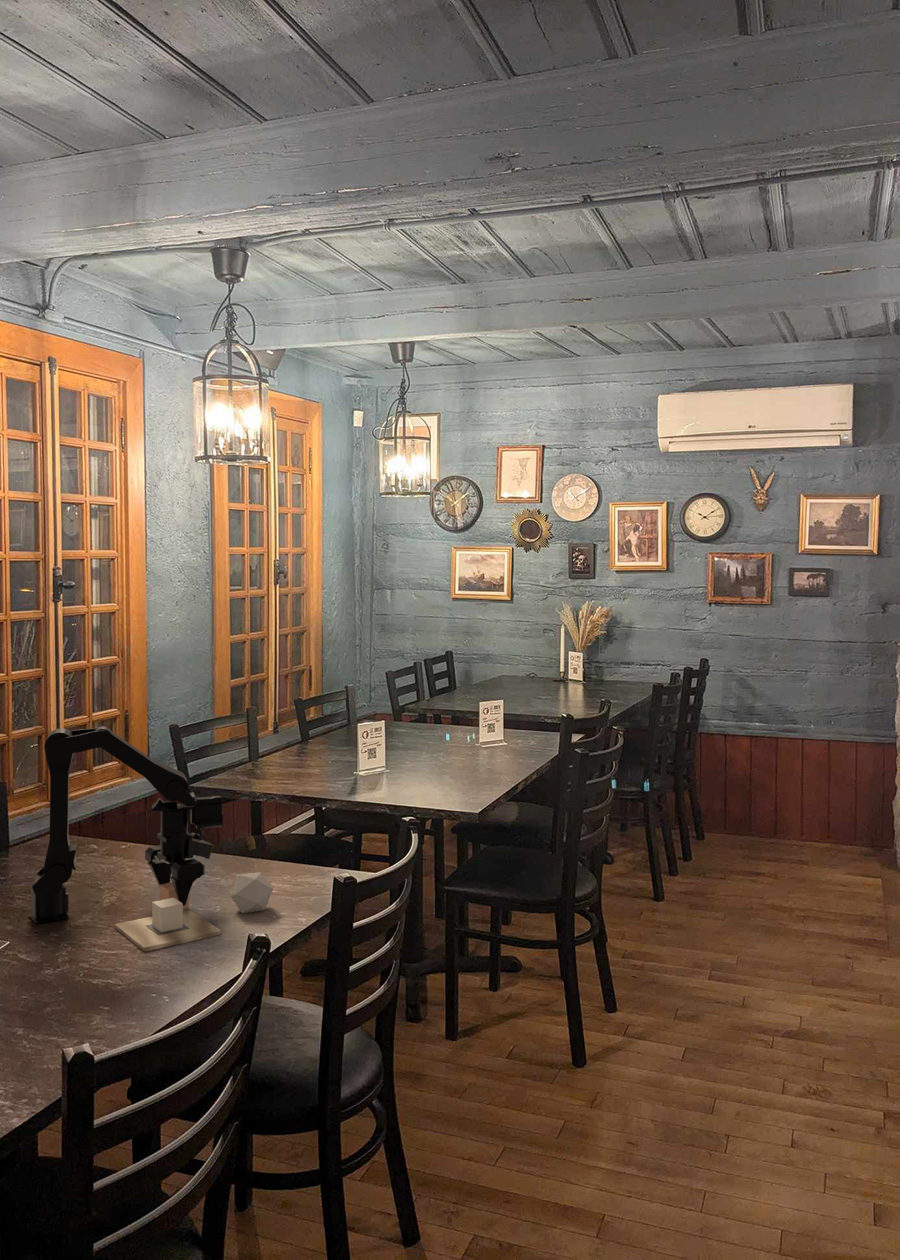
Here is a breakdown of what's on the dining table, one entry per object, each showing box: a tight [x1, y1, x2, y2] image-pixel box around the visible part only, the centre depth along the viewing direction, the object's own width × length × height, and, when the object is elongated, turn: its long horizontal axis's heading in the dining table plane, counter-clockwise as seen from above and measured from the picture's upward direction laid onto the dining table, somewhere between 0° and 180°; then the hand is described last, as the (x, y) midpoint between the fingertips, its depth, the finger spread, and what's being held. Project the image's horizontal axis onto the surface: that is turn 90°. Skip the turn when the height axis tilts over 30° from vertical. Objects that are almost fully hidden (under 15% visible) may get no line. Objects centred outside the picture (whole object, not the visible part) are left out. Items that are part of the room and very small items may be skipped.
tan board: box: [114, 908, 222, 952], centre depth 206 cm, size 16×16×1 cm
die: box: [229, 871, 274, 914], centre depth 220 cm, size 8×9×10 cm
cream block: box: [151, 898, 184, 932], centre depth 206 cm, size 5×5×5 cm
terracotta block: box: [159, 881, 190, 910], centre depth 221 cm, size 5×5×5 cm
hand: (174, 899), depth 221 cm, fingers open, 9 cm apart
